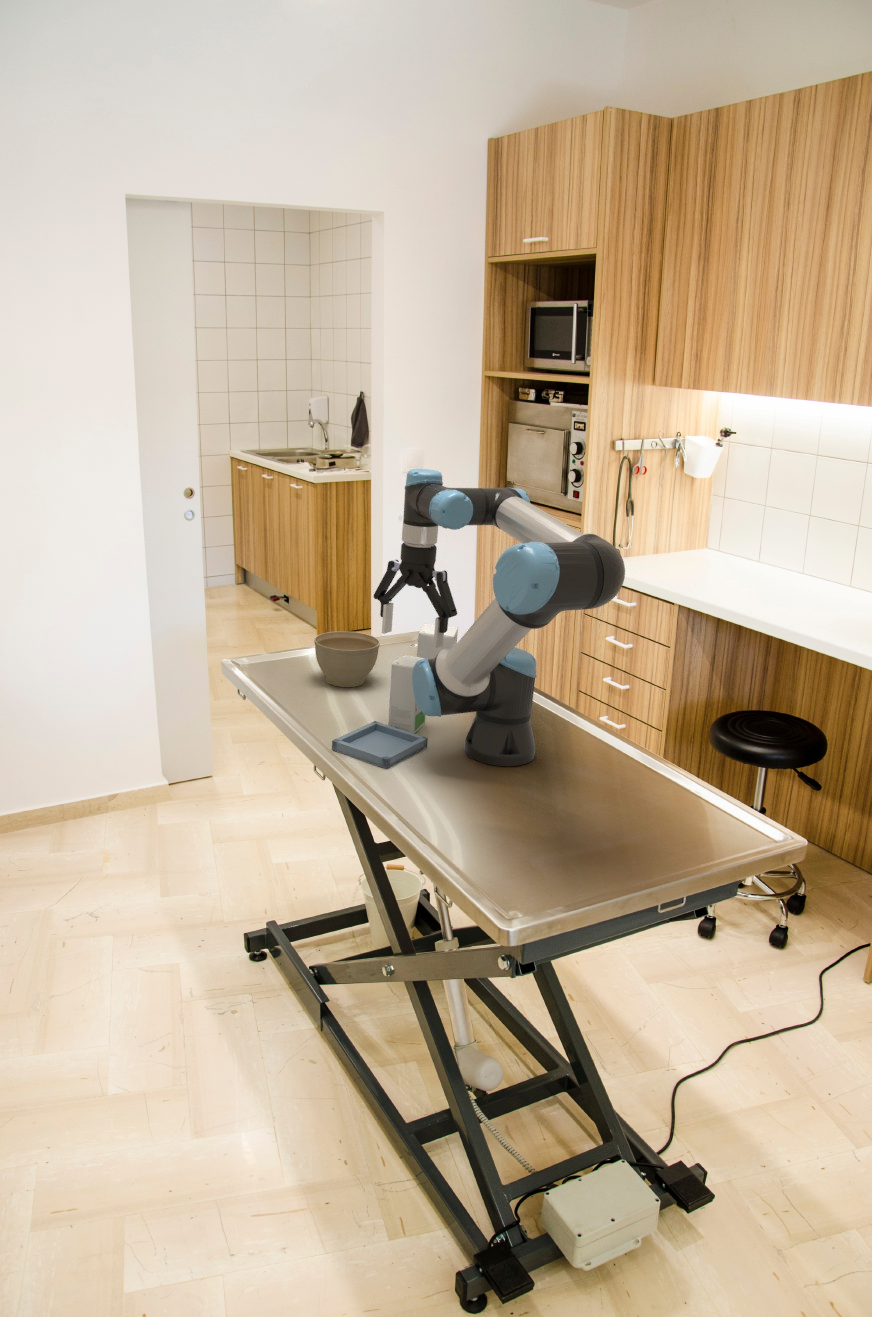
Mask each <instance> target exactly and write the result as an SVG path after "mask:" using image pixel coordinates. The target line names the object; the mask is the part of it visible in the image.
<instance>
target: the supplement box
mask: <svg viewBox="0 0 872 1317" xmlns="http://www.w3.org/2000/svg"><path fill="white" fill-rule="evenodd" d="M434 631H435V623H434V624H432V623H424V624H423V625H422V627H421V629H420V630H419V632H418V636H417V637H418V638H417V650H416V657H419V658H427V659H432V658H435V657H436V656H437V655H438V653H439V652H440V651H441V650H442V649H443V648H444V647H446V646H448V645H450V644H454V643H458V633H459V627H456V626H449V625H448V627H447V632H445V633H444V638H443V646H440V647H437V648H434V647H433V643H434Z"/></svg>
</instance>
